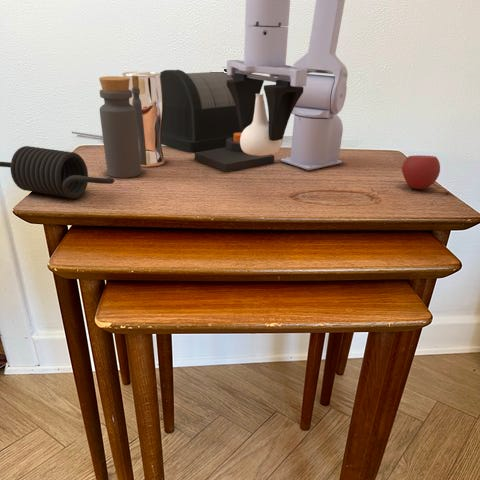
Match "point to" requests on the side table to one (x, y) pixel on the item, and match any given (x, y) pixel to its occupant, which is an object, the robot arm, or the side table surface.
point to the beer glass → (148, 114)
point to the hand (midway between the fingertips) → (261, 135)
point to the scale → (231, 157)
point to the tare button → (237, 137)
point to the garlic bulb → (258, 133)
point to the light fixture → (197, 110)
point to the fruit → (421, 171)
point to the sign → (87, 134)
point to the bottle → (119, 128)
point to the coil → (51, 172)
